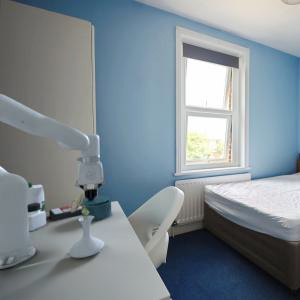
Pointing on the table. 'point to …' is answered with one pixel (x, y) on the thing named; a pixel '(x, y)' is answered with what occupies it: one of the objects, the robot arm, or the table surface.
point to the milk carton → (36, 195)
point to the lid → (93, 199)
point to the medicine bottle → (35, 216)
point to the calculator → (64, 213)
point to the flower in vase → (85, 234)
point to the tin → (99, 210)
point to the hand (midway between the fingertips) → (91, 197)
